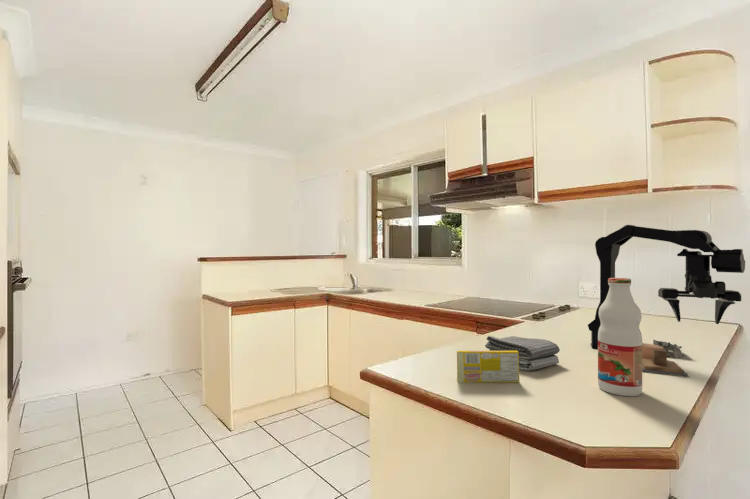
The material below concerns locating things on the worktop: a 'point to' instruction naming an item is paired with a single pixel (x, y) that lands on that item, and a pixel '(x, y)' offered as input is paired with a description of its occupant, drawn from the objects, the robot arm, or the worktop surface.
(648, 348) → the peach rounded dome
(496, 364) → the candy box
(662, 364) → the lid
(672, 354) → the egg carton
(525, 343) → the towel
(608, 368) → the fruit juice
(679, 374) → the mat
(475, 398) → the worktop surface
